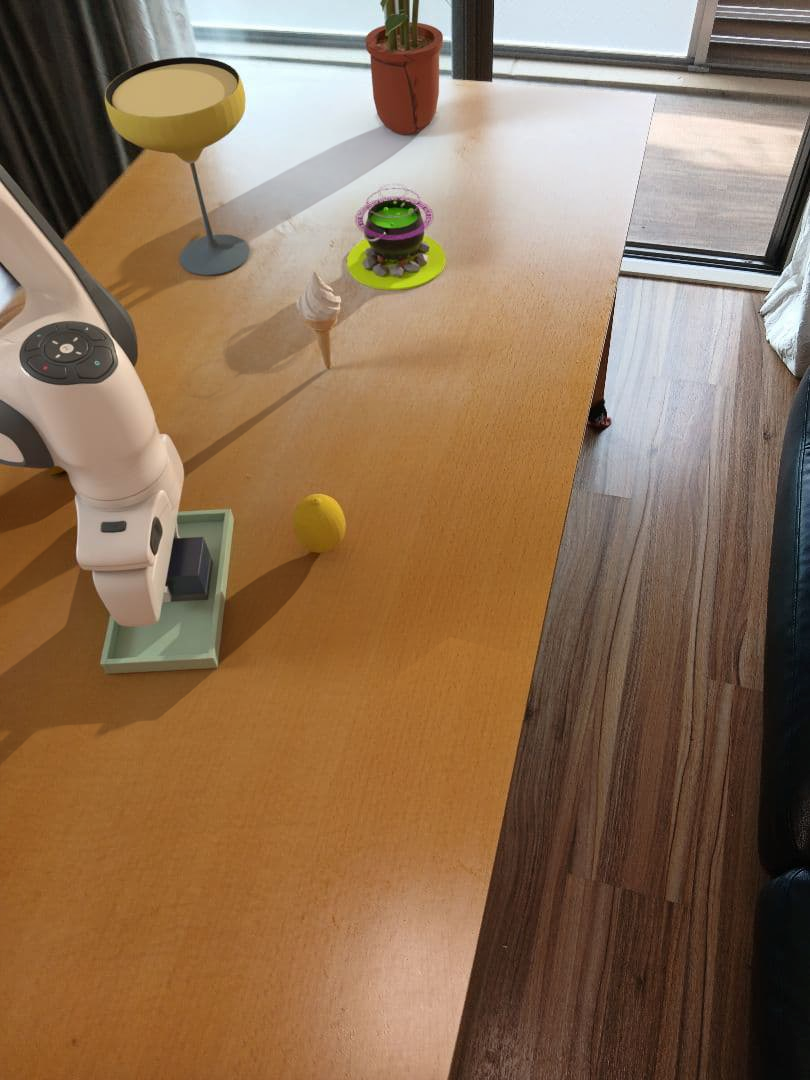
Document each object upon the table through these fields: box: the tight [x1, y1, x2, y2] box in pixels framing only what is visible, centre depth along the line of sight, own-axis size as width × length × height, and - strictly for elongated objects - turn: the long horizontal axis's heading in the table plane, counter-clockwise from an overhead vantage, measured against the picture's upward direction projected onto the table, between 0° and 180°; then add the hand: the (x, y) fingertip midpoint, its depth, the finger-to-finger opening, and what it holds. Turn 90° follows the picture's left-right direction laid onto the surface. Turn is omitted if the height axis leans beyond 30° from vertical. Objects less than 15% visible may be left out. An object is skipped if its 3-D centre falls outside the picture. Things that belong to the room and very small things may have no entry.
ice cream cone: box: [295, 270, 342, 370], centre depth 103 cm, size 6×6×15 cm
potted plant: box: [364, 0, 452, 136], centre depth 134 cm, size 17×16×35 cm
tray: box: [99, 508, 235, 675], centre depth 87 cm, size 11×19×2 cm, turn 2°
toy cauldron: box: [346, 183, 447, 291], centre depth 119 cm, size 15×15×11 cm
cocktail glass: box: [104, 56, 250, 277], centre depth 116 cm, size 18×18×25 cm
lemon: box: [293, 493, 347, 554], centre depth 87 cm, size 6×6×8 cm
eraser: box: [166, 537, 213, 602], centre depth 86 cm, size 8×5×4 cm, turn 92°
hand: (168, 572), depth 86 cm, fingers closed on eraser, 5 cm apart
